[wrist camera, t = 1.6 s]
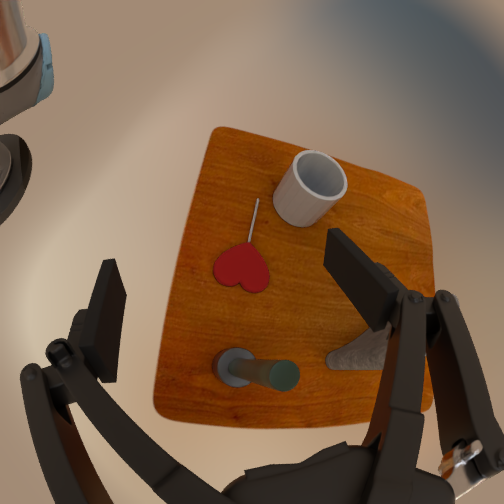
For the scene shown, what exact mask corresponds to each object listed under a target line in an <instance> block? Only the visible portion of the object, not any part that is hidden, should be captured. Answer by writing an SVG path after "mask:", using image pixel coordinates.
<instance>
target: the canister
mask: <svg viewBox="0 0 504 504" xmlns="http://www.w3.org/2000/svg"><path fill="white" fill-rule="evenodd" d="M346 189H347V178H346V175H345V173H344V171H343V169H342V168H341V167H340V165H339V164H338V163H337V162H336V161H335V160H334V159H333V158H332V157H330V156H328V155H326V154H325V153H322V152H319V151H316V150H306V151H303V152H300V153H299V154H298V155H297V156H295V158H294V160H293V161H292V163H291V164H290V166H289V168H288V169H287V171H286V173H285V174H284V176H283V177H282V179H281V181H280V182H279V184H278V186H277V187H276V189H275V191H274V194H273V204H274V207H275V209H276V211H277V213H278V214H279V215H280V217H281V218H282V219H284V220H285V221H286V222H288V223H289V224H291V225H294V226H297V227H308V226H311V225H313V224H315V223H316V222H317V221H318V220H319V219H320V218H321V217H322V216H323V215H324V214H325V213H326V212H327V211H328V210H329V209H330V208H331V207H332V206H333V205H334V204H335V203H336V202H337V201H338V200H339V199H340V198H341V197H342V196H343V195H344V194H345V192H346Z"/></svg>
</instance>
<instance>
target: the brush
mask: <svg viewBox="0 0 504 504" xmlns="http://www.w3.org/2000/svg"><path fill="white" fill-rule="evenodd" d="M212 369H213V373H214V375H215V376H216V377H217V378H218V379H219V380H220V381H222V382H223V383H225V384H227V385H229V386H231V387H244V386H246V385H248V384H250V383H251V382H253V383H256V384H259V385H262V386H265V387H268V388H272V389H275V390H278V391H289V390H291V389H293V388H294V387H295V386H296V385H297V383H298V381H299V378H300V372H299V369H298V367H297V365H296V364H295V363H293V362H292V361H289V360H262V359H256V358H255V357H254V355H253V354H252V353H251V352H249V351H248V350H246V349H243V348H229V349H224V350H222V351H220V352H219V353H218V354H217V355H216V356H215V357H214V359H213V363H212Z"/></svg>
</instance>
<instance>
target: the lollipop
mask: <svg viewBox="0 0 504 504" xmlns="http://www.w3.org/2000/svg"><path fill="white" fill-rule="evenodd" d="M258 203H259V198H257V202H256V206H255V211H254V215H253V220H252V224H251V229H250V233H249V238H248V242H246V243H243V244H240V245H237V246H234V247H232V248H230V249H228V250H227V251H225V252H224V253H222V254H221V255H220V256H219V257H218V259H217V260H216V261H215V263H214V268H213V273H214V276H215V278H216V280H217V281H218V282H219V283H221V284H222V285H225V286H235V285H237V284H238V283H240V284H241V286H242V287H243V288H244V289H245V290H246V291H248V292H251V293H258V292H261V291H263V290H264V289H265V288H266V287H267V285H268V283H269V279H270V275H269V270H268V267H267V265H266V263H265V261H264V259H263V258H262V256H261V255H260V253H259V252H258V251H257V250H256V249H255V247H254V246H253V245H252V244H251V243H250V240H251V235H252V230H253V226H254V221H255V217H256V212H257V208H258Z"/></svg>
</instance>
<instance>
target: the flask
mask: <svg viewBox="0 0 504 504" xmlns="http://www.w3.org/2000/svg"><path fill="white" fill-rule="evenodd" d="M452 295H453V296H454V297H455V299H456V302H457V304H458V306H459V301H458V298H457V297H456V296H455V295H454V294H452ZM391 326H392V325H391V324H390V323H389V321H388V322H387V325H386V327H385V329H383V330H380V331H378V332H375V333H374V332H373V331H372V330H371V328H369V329H367V330H366V331H365V332H364V333H363V334H362V335H360V336H359V337H357V338H356V339H355V340H353V341H352V342H350V343H348V344H347V345H345V346H343V347H341V348H339V349H337V350H334V351H332V352H330V353H329V354H328V355H327V357H326V365H327V367H328V368H330V369H333V370H383V367H384V362H385V356H386V351H387V345H388V340H386V338H387V335H388V333H389V331H390V328H391ZM388 339H389V338H388ZM425 356H426V352H425Z"/></svg>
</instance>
